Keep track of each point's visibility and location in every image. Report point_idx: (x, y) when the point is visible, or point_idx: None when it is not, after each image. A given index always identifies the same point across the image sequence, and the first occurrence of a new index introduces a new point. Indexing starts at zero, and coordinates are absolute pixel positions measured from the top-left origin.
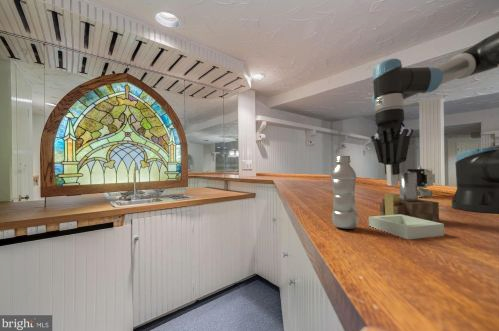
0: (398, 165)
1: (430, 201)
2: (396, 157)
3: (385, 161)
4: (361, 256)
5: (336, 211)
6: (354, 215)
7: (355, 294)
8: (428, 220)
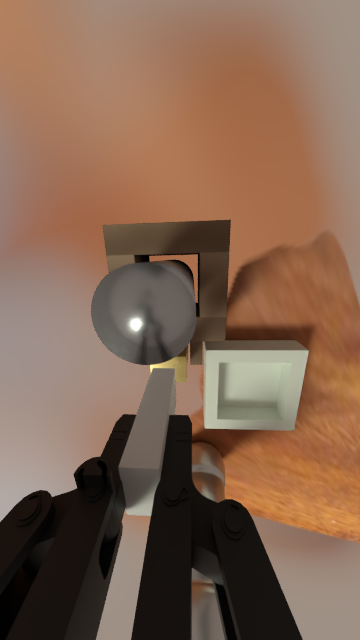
0: (190, 477)
1: (207, 230)
2: (223, 608)
3: (109, 550)
4: (301, 497)
5: None
6: (224, 478)
7: (349, 537)
8: (276, 350)
